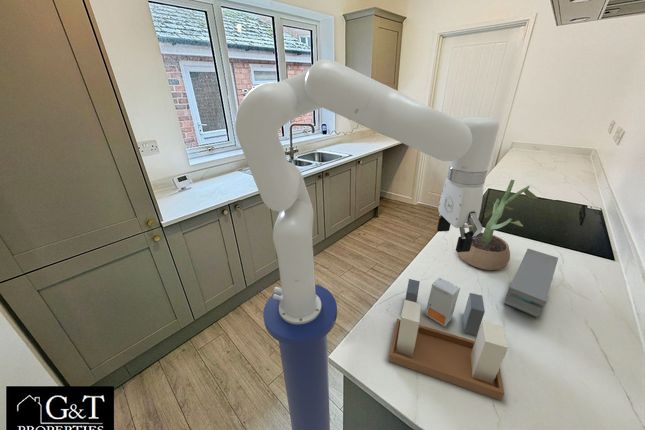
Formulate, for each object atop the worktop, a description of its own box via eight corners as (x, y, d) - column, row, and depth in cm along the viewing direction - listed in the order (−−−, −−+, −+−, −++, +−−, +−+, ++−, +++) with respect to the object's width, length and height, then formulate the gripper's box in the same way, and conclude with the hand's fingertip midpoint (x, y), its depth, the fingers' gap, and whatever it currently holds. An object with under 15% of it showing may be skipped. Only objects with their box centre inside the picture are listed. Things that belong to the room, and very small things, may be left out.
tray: (388, 361, 64) (389, 354, 63) (396, 325, 73) (397, 318, 72) (500, 400, 55) (504, 393, 54) (493, 354, 65) (495, 347, 64)
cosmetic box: (424, 315, 76) (431, 283, 71) (431, 307, 79) (438, 276, 73) (445, 327, 72) (453, 295, 67) (452, 319, 75) (460, 287, 69)
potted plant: (496, 280, 88) (524, 199, 75) (447, 256, 102) (463, 183, 88) (525, 257, 100) (554, 182, 86) (477, 237, 113) (496, 170, 100)
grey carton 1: (403, 315, 76) (406, 292, 72) (405, 301, 81) (409, 278, 77) (413, 318, 75) (417, 294, 71) (415, 303, 80) (419, 281, 76)
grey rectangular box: (531, 331, 70) (546, 301, 65) (498, 316, 75) (509, 287, 70) (546, 284, 86) (558, 257, 81) (517, 274, 91) (527, 248, 86)
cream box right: (472, 377, 59) (485, 341, 54) (470, 354, 64) (482, 319, 59) (492, 384, 58) (508, 347, 52) (489, 360, 63) (503, 325, 57)
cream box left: (395, 351, 65) (401, 317, 60) (399, 332, 70) (404, 299, 65) (412, 357, 64) (419, 322, 59) (415, 337, 69) (421, 303, 64)
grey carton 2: (464, 332, 70) (471, 308, 66) (462, 316, 75) (469, 292, 71) (476, 336, 69) (484, 311, 65) (474, 319, 74) (482, 295, 70)
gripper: (433, 166, 66) (423, 225, 74) (472, 190, 51) (455, 261, 58) (462, 164, 67) (449, 223, 74) (509, 188, 51) (487, 259, 59)
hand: (452, 240), depth 66 cm, fingers open, 9 cm apart
